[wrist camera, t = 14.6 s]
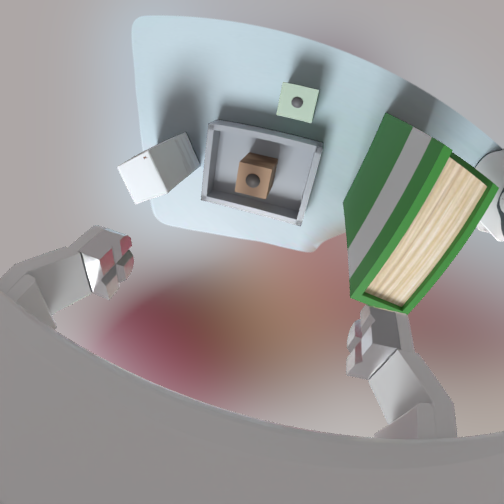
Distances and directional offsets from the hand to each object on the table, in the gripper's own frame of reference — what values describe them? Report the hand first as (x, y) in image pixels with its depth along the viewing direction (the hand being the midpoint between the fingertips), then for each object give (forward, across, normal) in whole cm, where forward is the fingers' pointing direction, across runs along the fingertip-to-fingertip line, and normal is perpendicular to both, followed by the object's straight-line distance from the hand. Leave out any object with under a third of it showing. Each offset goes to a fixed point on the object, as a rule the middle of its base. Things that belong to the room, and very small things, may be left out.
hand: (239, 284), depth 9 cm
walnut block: (+38, +6, +10) cm, 40 cm away
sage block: (+39, +2, -3) cm, 39 cm away
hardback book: (+39, -14, +4) cm, 42 cm away
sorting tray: (+39, +6, +10) cm, 41 cm away
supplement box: (+39, +22, +11) cm, 46 cm away
